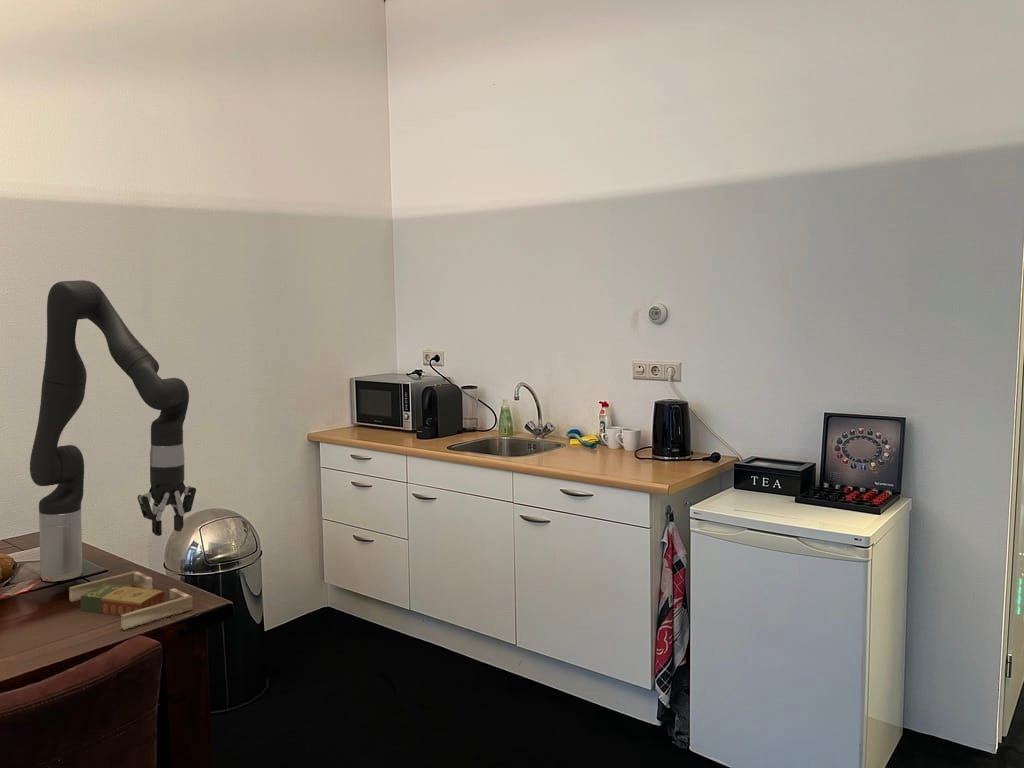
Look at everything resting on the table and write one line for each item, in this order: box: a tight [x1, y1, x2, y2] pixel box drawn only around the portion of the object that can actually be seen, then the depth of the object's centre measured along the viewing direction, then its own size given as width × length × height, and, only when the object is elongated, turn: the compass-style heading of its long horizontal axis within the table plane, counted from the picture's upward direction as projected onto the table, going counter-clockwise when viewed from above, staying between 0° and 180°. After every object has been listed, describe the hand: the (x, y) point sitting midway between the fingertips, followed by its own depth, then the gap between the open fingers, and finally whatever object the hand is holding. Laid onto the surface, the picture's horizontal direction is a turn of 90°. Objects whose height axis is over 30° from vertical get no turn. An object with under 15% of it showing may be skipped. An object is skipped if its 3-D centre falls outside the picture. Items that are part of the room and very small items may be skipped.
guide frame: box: [68, 570, 193, 631], centre depth 188 cm, size 25×16×3 cm, turn 52°
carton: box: [80, 583, 166, 617], centre depth 186 cm, size 8×16×4 cm, turn 77°
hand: (167, 532), depth 194 cm, fingers open, 4 cm apart
